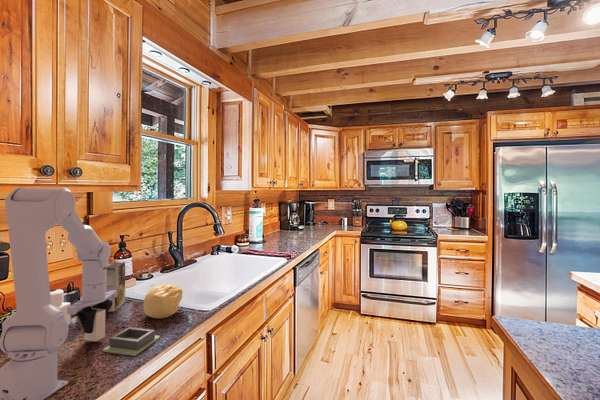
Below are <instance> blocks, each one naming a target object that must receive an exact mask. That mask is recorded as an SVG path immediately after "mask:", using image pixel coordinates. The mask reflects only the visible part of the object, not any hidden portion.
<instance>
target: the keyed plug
mask: <svg viewBox="0 0 600 400" xmlns="http://www.w3.org/2000/svg"><path fill="white" fill-rule="evenodd" d="M92 309H96V310H97V312H96V314H95V318H94V326H93V332H92V333H84V332H83V333H84V334H83V341H89V342H98V341H100V340H101V339H103V338H105V337H106V319H105V309H97V308H93V307H92Z"/></svg>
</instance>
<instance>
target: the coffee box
mask: <svg viewBox="0 0 600 400" xmlns="http://www.w3.org/2000/svg"><path fill="white" fill-rule="evenodd" d="M111 290H116V291H117V297H115V298H110V299H109V301H112V302H113V303H112V306H111V307H110V309H109V311H108V313H109V312H116V311H117V310H119V308H121V307H122V306H123V304H125V303H126V261H125V262H115V261H114V262H113V261H111V262H110V261H109V264H108V266H107V267H106V292H108V291H111Z"/></svg>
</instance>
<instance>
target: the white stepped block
mask: <svg viewBox="0 0 600 400" xmlns="http://www.w3.org/2000/svg"><path fill="white" fill-rule="evenodd" d="M50 297H51V303H52V304H53V305H55V306H57V307H58V308H60V309H61V310H63V311H64V317H65V320H66V321H67V323H68V326H69V325H70V324H71V322H72V321H71V320H72V319H71V316H72V315H70V314H67V307H69V306H71V305H72V303H71V302H67V301H66V302H64V298H65V297H64V290H63V289H60V288H54V289H51V288H50Z"/></svg>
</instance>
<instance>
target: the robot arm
mask: <svg viewBox="0 0 600 400" xmlns="http://www.w3.org/2000/svg"><path fill="white" fill-rule="evenodd" d="M76 204H77V203H76V198H75V195H74V194H73V193H72V191H71V190H70V189H69V188H67V187H60V188H45V187H24V186H23V187H22V186H19V187H17V188H16V187H15V188H14V189H13V190H11V192H10V194H8V195H7V196H6V198H5V199H4V206H5V214H6V225H7V227H8V237H9V247H10V249H9V250H10V257H11V266H12V277H13V287H14V295H15V296H14V297H15V304H16V305H15V307H16V311H15V312H13V313H11V314H10V315H9V316H7V317H6V318H5V320H4V321H2V323H1V328H2V329H1V331H2V332H1V334H0V350H1V351H2V352H3V353H5V354H7V359H10V360H9V361H8V362H7V363H6V364H4V365H3V366H1V367H0V400H45V399H47V398H48V397H50V396H51V395H53V394H54V393H56V392H57V391H59V390H60V389H62V388H63V387H65V386H67V385H68V384H69V381H67V380H62V379H58V363H59V362H58V361H59V359H58V358H59V357H58V348H60V349H61V347H62V346H63V344H64V343H65V341H66V340H67V337H68V335H69V327H70V326H69V325H68V323H67V321H66V320H65V317H64V311H63V310H61V309H60V308H58V307H57V306H55V305H53V304H52V303H51V297H50V290H51V288H50V278H49V277H50V276H49V265H48V255H47V254H48V253H47V241H46V234H47V232H48V231H49V230H50V229H53V228H56V227H57V226H59V225H60V226H61V228H63V229H64V230H65V231H66V232H67V240H68V242H69V243H70V244H71V245H72V246H73V247H74V248H75V252H76V255H77V259H78V261H80V262H81V263H82V265H81V268H82V269H81V274H82V275H81V280H82V281H81V297H80V298H79V299H80V300H78V301H77V302H75V303H73V304H71V306H69V307H67V314H70V315H71V316H74V315H76V317H77V318H78V320H79V322H80V324H81V325H82V329H83V333H92V332H93V326H94V318H95V314H96V312H97V310H96V309H93V308H97V309H105V320H107V318H106V317H107V315H108V313H109V312H108V311H109V309H110V307H111V306H112V303H113V302H112V301H109V299H110V298H115V297H117V291H116V290H111V291H108V292H106V267H107V266H108V264H109V263H110V257H111V253H112V248H111V246H110V244H109V243H108V242H106V241H102V240H101V238H100V237H99V236H98V234H97V233H96V231H95V230H94V229H93V228H92V226H90V225H88V224H84V223H83V222H82V220H81V218H80V217H79V214H78V213H77V212H76V210H75V208H76Z"/></svg>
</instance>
